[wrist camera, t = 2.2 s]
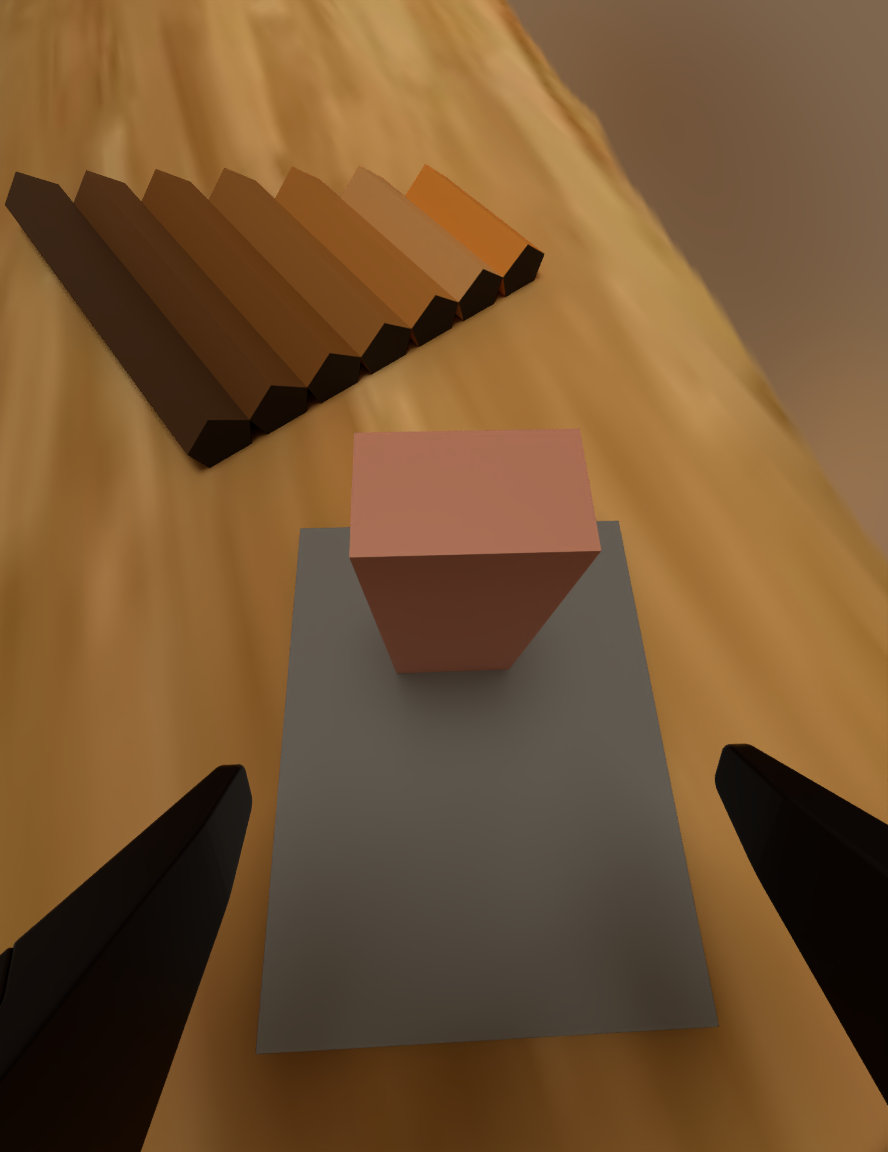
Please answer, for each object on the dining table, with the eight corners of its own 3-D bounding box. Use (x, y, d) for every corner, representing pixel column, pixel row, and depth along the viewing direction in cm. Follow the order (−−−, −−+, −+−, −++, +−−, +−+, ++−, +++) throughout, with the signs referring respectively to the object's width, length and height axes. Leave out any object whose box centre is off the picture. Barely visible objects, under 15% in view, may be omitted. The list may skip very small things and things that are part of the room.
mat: (709, 1018, 17) (719, 1026, 16) (261, 1044, 17) (255, 1054, 16) (614, 526, 24) (618, 520, 24) (303, 534, 24) (300, 528, 23)
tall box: (509, 669, 21) (601, 550, 9) (396, 673, 21) (349, 557, 9) (503, 605, 22) (579, 428, 11) (396, 608, 22) (354, 433, 10)
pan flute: (30, 237, 33) (206, 478, 26) (-13, 181, 30) (174, 438, 23) (330, 117, 39) (538, 284, 32) (321, 60, 36) (549, 232, 29)
